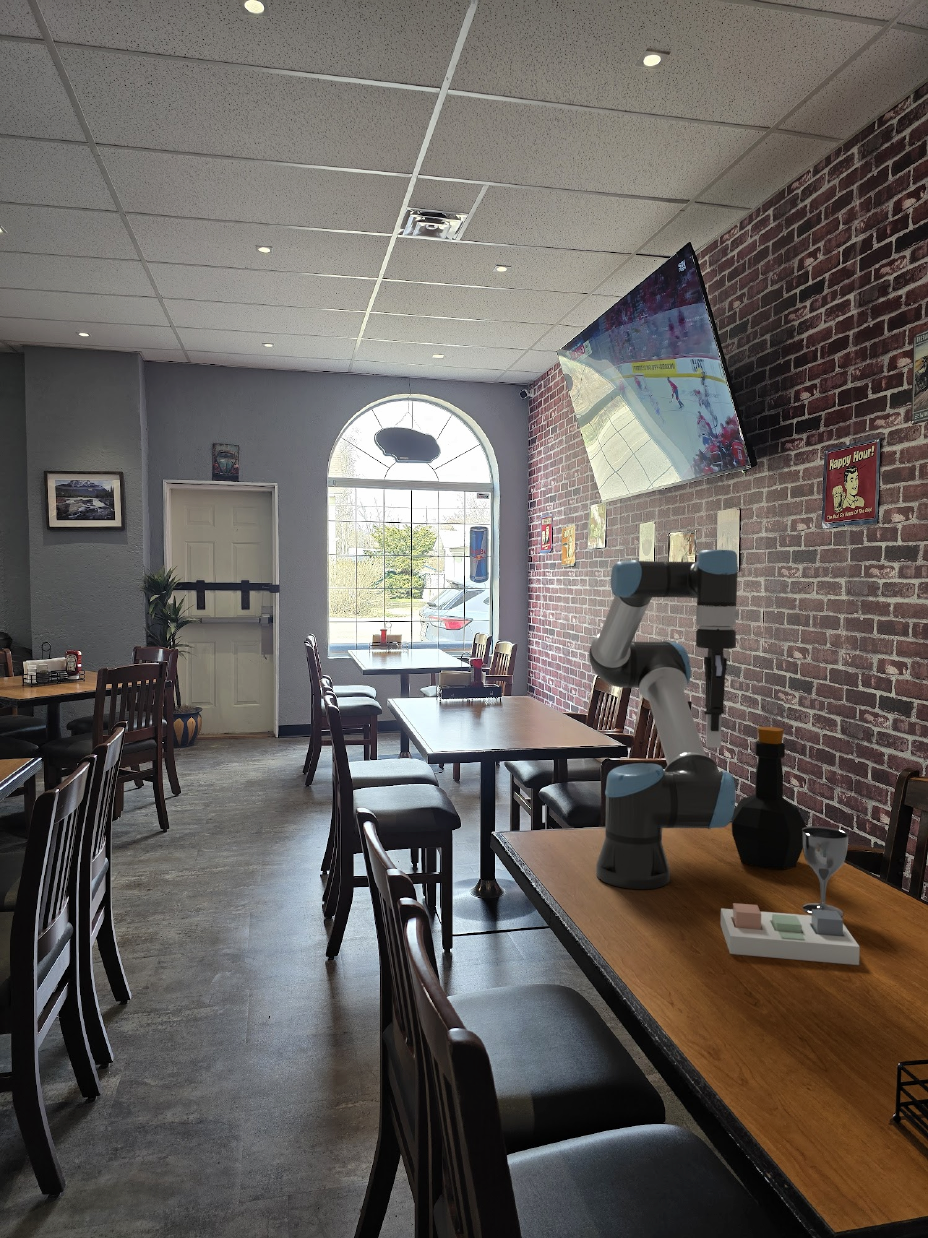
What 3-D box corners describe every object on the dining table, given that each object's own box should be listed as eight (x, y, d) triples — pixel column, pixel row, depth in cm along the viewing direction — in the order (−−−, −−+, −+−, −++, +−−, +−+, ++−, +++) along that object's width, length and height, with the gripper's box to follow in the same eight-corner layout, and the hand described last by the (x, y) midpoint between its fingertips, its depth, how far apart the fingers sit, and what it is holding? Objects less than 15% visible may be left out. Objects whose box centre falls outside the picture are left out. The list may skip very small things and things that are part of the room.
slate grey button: (817, 937, 136) (817, 918, 136) (811, 927, 140) (811, 909, 140) (842, 939, 135) (843, 920, 135) (836, 929, 139) (836, 911, 139)
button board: (730, 953, 135) (730, 934, 135) (720, 925, 147) (720, 907, 147) (859, 965, 131) (859, 945, 131) (838, 934, 143) (839, 916, 143)
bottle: (741, 845, 194) (744, 720, 193) (814, 859, 184) (817, 727, 183) (719, 863, 181) (722, 728, 180) (796, 879, 171) (800, 737, 170)
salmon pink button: (736, 930, 138) (736, 912, 138) (732, 921, 142) (733, 903, 142) (760, 932, 138) (761, 914, 138) (756, 923, 142) (757, 905, 142)
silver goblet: (845, 907, 156) (847, 829, 155) (845, 922, 149) (848, 841, 148) (800, 900, 159) (802, 824, 159) (799, 914, 152) (801, 835, 152)
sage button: (776, 942, 137) (776, 923, 137) (771, 932, 141) (772, 914, 141) (801, 944, 137) (801, 925, 137) (795, 934, 141) (796, 916, 140)
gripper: (741, 629, 154) (738, 754, 154) (731, 627, 166) (728, 741, 167) (699, 629, 155) (697, 752, 156) (693, 626, 168) (690, 740, 169)
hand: (713, 746), depth 161 cm, fingers closed
